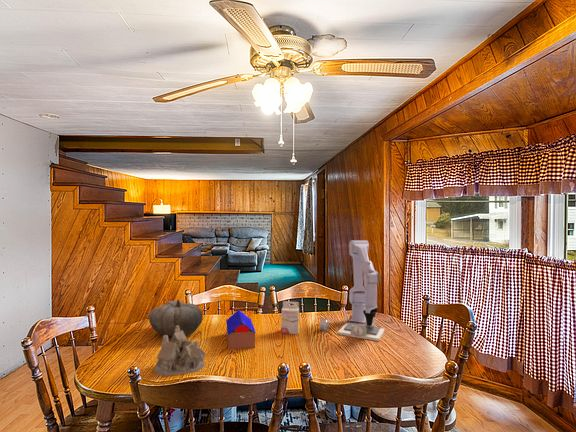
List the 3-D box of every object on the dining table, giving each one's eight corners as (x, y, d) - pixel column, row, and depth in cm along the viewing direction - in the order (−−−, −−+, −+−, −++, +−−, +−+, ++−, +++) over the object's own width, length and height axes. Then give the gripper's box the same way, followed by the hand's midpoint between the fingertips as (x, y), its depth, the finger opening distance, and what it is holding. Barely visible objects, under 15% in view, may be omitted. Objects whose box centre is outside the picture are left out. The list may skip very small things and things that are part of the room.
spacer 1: (321, 327, 180) (321, 318, 180) (329, 329, 178) (329, 319, 178) (318, 330, 176) (318, 320, 176) (326, 331, 174) (327, 321, 174)
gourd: (143, 339, 153) (148, 299, 156) (149, 330, 177) (153, 295, 180) (201, 340, 160) (205, 302, 163) (199, 331, 184) (203, 297, 186)
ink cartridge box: (280, 333, 171) (281, 303, 171) (281, 330, 176) (282, 301, 176) (298, 334, 170) (298, 304, 170) (298, 330, 175) (299, 301, 175)
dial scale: (345, 325, 184) (346, 315, 184) (384, 331, 176) (384, 320, 176) (337, 334, 171) (337, 323, 171) (379, 341, 162) (379, 330, 162)
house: (228, 350, 150) (228, 323, 150) (225, 334, 170) (226, 310, 170) (255, 348, 153) (256, 321, 153) (250, 332, 172) (250, 309, 172)
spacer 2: (375, 326, 174) (375, 316, 174) (373, 329, 170) (373, 319, 170) (366, 325, 176) (366, 315, 176) (364, 327, 172) (364, 317, 172)
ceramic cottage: (147, 370, 130) (151, 330, 130) (182, 356, 144) (185, 320, 144) (175, 384, 122) (179, 342, 122) (209, 368, 136) (213, 330, 136)
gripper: (365, 292, 181) (365, 318, 181) (359, 298, 168) (359, 326, 168) (379, 294, 178) (379, 320, 178) (374, 300, 165) (373, 329, 165)
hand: (370, 323), depth 173 cm, fingers closed on spacer 2, 4 cm apart
